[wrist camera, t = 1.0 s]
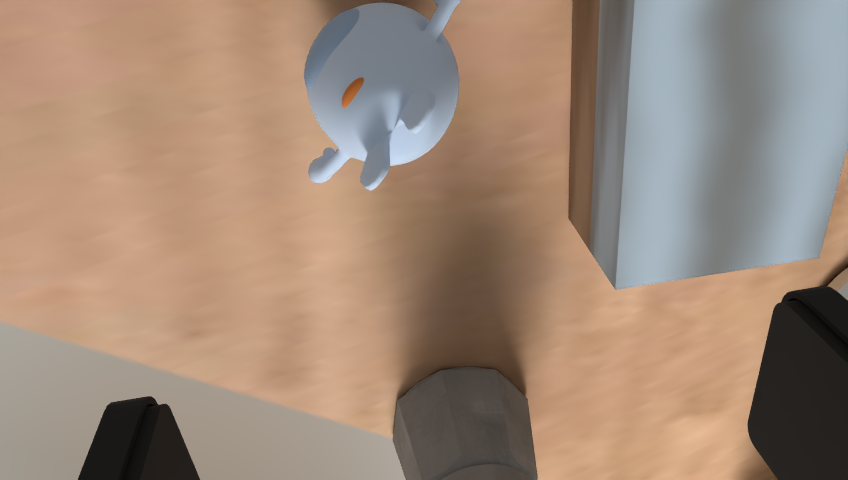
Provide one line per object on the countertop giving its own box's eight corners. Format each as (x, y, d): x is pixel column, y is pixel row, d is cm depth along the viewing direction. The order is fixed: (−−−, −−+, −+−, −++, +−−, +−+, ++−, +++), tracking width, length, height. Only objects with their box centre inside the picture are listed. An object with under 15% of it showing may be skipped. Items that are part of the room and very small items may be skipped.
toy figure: (386, -94, 28) (421, -62, 17) (496, -3, 30) (584, 72, 20) (257, 105, 31) (222, 228, 21) (364, 172, 34) (380, 312, 23)
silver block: (786, -80, 30) (901, -62, 24) (740, 192, 37) (818, 257, 31) (573, -53, 29) (636, -28, 23) (568, 218, 37) (615, 289, 31)
